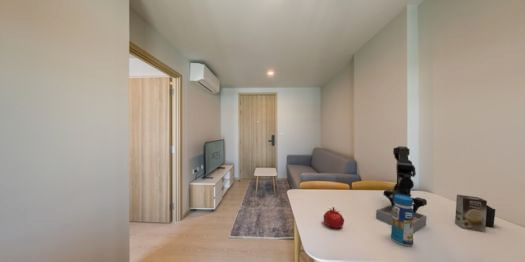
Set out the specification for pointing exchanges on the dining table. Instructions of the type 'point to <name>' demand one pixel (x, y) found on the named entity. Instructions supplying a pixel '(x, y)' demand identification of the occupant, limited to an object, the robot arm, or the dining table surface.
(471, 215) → the coffee box
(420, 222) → the box
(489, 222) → the pen holder
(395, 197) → the beverage bottle
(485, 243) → the dining table surface
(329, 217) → the pomegranate
